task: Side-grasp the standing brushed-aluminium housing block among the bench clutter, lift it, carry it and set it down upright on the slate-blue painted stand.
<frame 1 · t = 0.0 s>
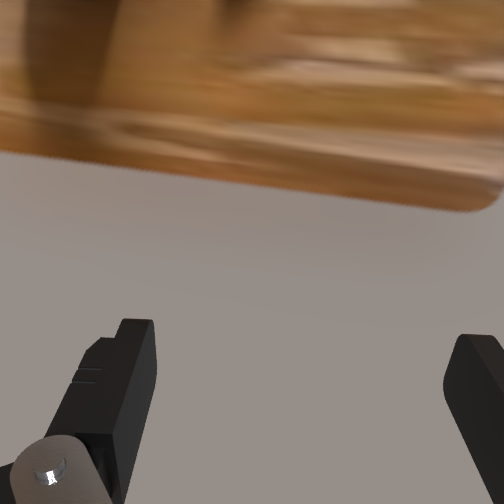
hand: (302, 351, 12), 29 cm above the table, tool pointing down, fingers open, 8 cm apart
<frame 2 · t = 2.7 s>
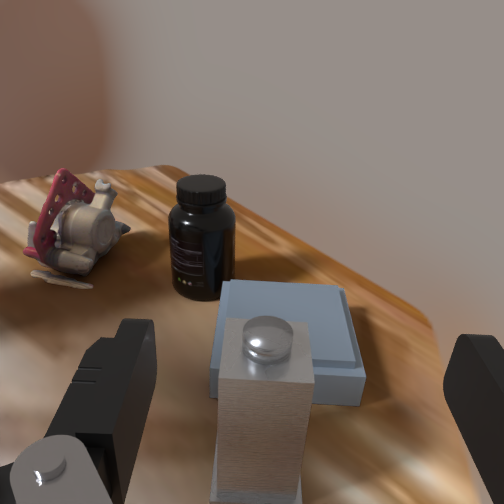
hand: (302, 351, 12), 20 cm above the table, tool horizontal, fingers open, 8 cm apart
housing: (256, 469, 31), on the table
supplement bottle: (202, 286, 50), on the table
stand: (282, 350, 42), on the table
brake caliper: (79, 261, 54), on the table
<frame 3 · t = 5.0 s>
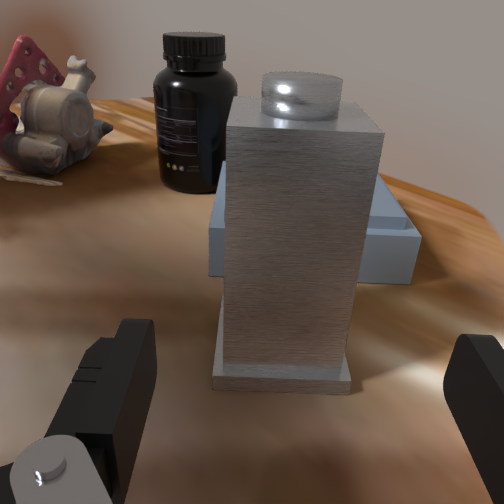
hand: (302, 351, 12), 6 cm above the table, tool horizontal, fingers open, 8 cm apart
housing: (278, 346, 22), on the table
supplement bottle: (197, 183, 41), on the table
stand: (301, 234, 32), on the table
brake caliper: (50, 165, 44), on the table
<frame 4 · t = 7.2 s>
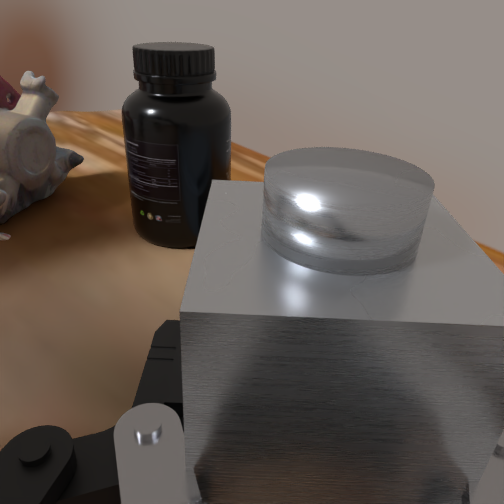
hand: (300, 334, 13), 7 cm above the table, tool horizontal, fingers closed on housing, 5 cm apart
supplement bottle: (181, 230, 33), on the table
brake caliper: (4, 206, 35), on the table
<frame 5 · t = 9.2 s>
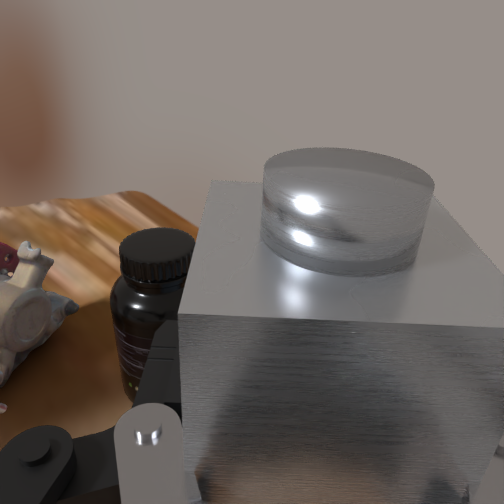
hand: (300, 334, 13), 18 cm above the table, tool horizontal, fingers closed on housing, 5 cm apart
supplement bottle: (168, 383, 35), on the table
brake caliper: (3, 356, 37), on the table
when the fingers open (11 cm above the table, at t = 11.3 s): housing stays where it is, resting on stand.
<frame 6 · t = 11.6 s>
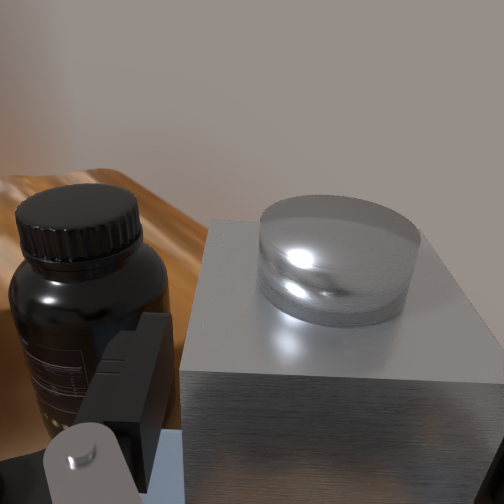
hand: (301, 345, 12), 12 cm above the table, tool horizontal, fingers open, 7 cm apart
supplement bottle: (112, 410, 25), on the table
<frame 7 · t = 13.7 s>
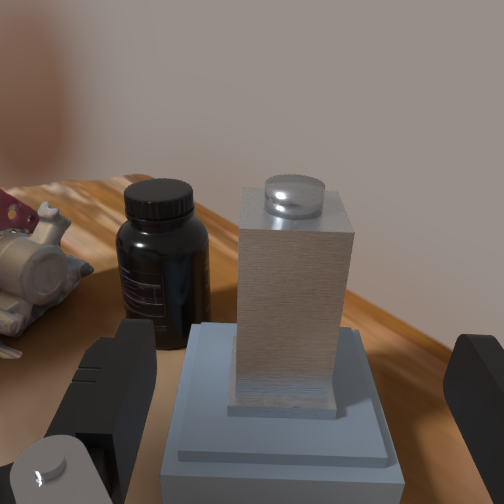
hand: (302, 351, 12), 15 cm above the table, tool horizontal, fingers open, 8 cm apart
housing: (279, 379, 27), point 4 cm above the table, touching stand
supplement bottle: (169, 327, 38), on the table
stand: (275, 425, 29), on the table
brake caliper: (22, 312, 39), on the table
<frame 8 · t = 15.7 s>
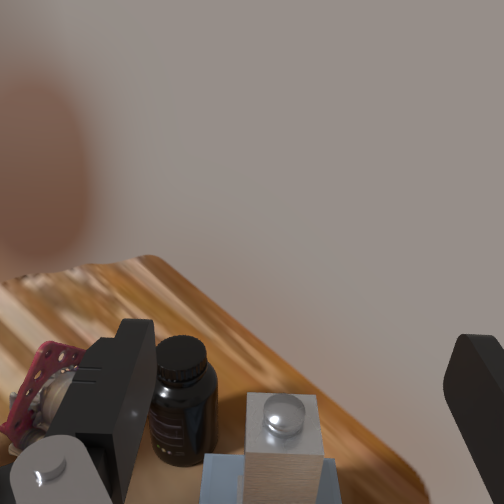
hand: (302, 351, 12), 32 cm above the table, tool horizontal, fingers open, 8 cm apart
supplement bottle: (184, 441, 47), on the table
brake caliper: (66, 428, 48), on the table
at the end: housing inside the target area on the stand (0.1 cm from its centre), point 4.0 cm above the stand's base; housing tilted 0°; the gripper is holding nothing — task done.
